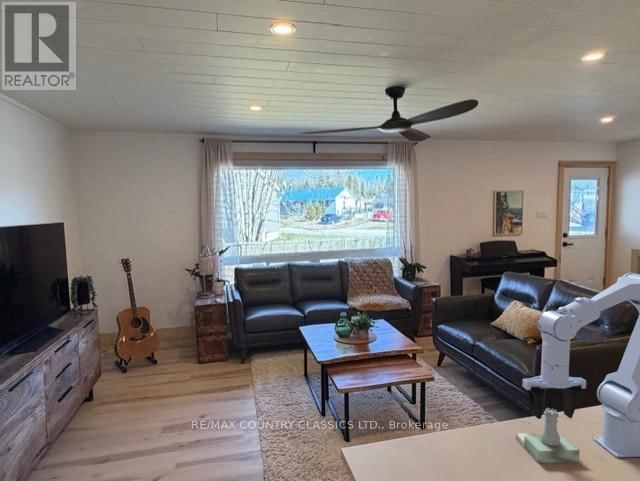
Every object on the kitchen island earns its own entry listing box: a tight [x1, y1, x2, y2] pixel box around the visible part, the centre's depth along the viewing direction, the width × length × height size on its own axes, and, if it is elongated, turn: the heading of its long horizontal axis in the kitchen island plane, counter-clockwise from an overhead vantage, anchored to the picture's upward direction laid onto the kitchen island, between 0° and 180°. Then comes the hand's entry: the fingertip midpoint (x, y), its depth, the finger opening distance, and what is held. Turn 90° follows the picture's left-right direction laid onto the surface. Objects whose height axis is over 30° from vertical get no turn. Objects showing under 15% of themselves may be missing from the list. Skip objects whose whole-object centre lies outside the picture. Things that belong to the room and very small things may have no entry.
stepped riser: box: [515, 432, 581, 464], centre depth 100 cm, size 10×10×3 cm
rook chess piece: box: [539, 407, 561, 446], centre depth 98 cm, size 4×4×8 cm
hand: (552, 416), depth 98 cm, fingers open, 7 cm apart
